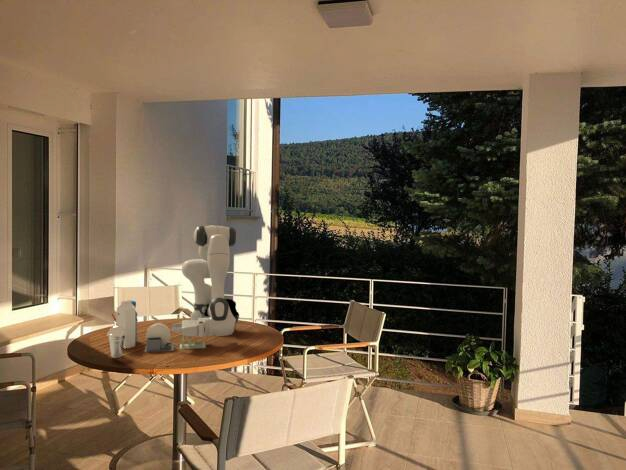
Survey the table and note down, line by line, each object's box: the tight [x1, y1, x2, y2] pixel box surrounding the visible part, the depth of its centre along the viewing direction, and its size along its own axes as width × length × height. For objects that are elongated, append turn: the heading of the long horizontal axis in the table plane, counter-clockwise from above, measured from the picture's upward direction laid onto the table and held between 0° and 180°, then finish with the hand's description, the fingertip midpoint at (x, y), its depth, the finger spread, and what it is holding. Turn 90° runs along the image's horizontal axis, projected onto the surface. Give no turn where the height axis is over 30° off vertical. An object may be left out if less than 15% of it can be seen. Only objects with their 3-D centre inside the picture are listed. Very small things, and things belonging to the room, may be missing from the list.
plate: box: [145, 323, 171, 347], centre depth 247 cm, size 2×11×11 cm, turn 104°
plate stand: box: [179, 336, 207, 350], centre depth 250 cm, size 9×12×5 cm
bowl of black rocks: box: [202, 298, 240, 325], centre depth 286 cm, size 20×20×19 cm
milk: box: [116, 299, 136, 350], centre depth 251 cm, size 6×6×22 cm
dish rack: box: [143, 337, 176, 353], centre depth 247 cm, size 16×13×6 cm
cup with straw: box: [106, 312, 127, 359], centre depth 233 cm, size 8×9×20 cm
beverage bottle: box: [131, 300, 139, 343], centre depth 262 cm, size 8×8×20 cm
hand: (171, 327), depth 248 cm, fingers open, 8 cm apart
